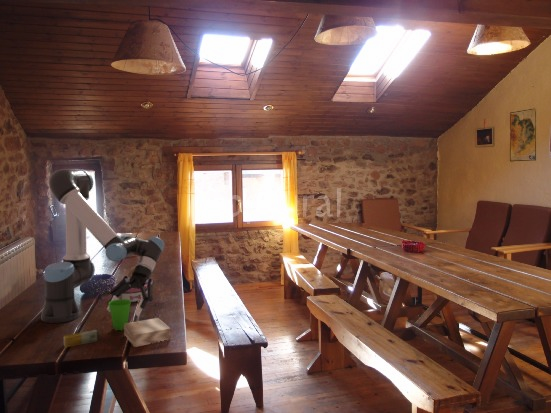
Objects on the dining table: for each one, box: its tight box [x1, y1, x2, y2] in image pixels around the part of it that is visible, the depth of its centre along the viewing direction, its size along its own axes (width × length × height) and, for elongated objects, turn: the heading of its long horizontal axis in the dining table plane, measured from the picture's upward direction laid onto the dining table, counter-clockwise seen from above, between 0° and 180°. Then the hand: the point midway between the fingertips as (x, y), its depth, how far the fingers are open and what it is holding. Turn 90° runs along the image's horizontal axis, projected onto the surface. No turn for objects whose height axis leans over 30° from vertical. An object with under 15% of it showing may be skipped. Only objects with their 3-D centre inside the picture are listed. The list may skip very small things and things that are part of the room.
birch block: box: [123, 317, 172, 348], centre depth 183 cm, size 14×14×5 cm
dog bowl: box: [114, 284, 148, 303], centre depth 235 cm, size 18×19×7 cm
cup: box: [107, 299, 132, 331], centre depth 191 cm, size 9×9×11 cm
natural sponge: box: [127, 265, 137, 278], centre depth 260 cm, size 9×9×10 cm
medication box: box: [63, 329, 99, 348], centre depth 176 cm, size 12×3×4 cm, turn 126°
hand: (122, 313), depth 191 cm, fingers open, 13 cm apart
